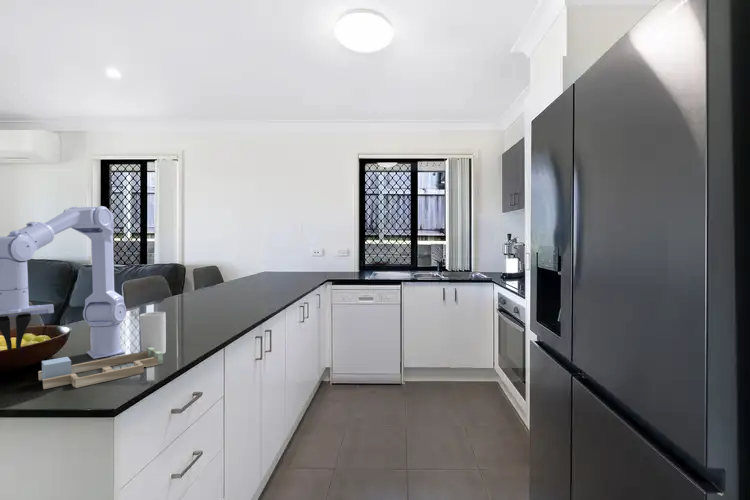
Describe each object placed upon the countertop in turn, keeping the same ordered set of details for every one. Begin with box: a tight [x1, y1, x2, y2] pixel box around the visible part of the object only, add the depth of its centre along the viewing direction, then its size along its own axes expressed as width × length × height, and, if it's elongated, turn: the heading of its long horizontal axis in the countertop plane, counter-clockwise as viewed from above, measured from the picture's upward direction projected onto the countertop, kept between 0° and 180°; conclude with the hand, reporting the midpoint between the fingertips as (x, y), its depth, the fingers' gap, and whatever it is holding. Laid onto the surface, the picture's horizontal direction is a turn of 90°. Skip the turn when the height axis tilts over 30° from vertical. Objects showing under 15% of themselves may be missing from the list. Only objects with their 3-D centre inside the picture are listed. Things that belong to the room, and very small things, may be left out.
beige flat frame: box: [37, 347, 164, 390], centre depth 102 cm, size 14×25×3 cm, turn 135°
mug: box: [139, 311, 167, 355], centre depth 121 cm, size 10×7×12 cm, turn 20°
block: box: [41, 356, 72, 383], centre depth 97 cm, size 5×5×5 cm
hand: (13, 348), depth 91 cm, fingers closed
